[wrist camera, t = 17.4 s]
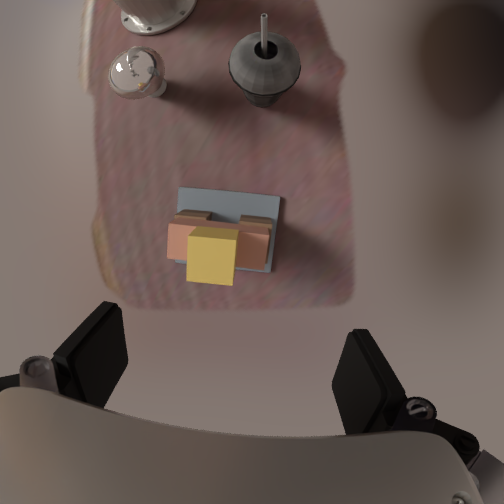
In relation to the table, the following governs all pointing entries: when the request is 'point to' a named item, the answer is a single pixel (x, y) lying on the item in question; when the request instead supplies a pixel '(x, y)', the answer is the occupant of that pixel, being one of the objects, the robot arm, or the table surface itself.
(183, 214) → the block
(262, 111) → the table surface
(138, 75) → the light bulb
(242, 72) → the beverage cup
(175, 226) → the beam
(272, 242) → the board
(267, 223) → the pier
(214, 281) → the cube
